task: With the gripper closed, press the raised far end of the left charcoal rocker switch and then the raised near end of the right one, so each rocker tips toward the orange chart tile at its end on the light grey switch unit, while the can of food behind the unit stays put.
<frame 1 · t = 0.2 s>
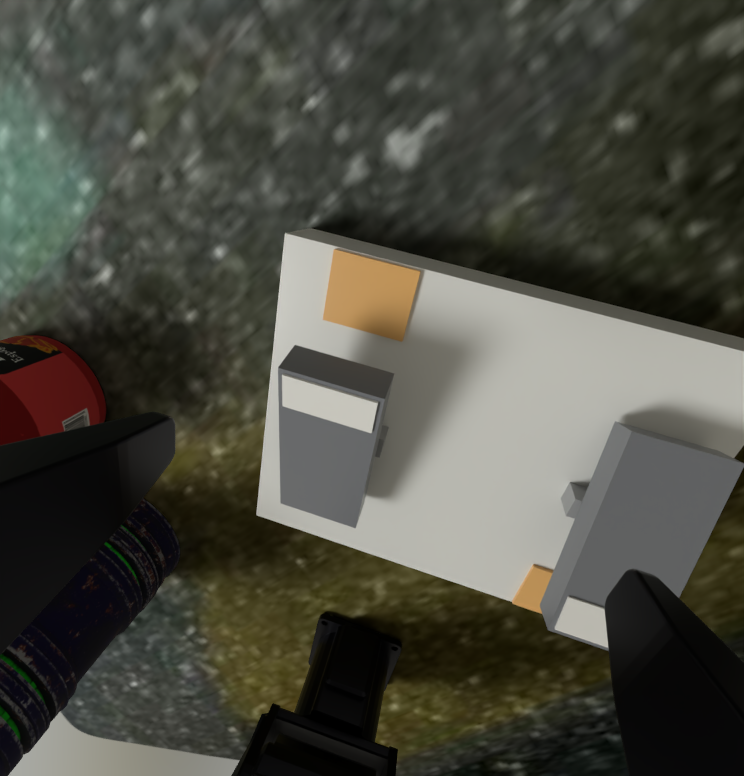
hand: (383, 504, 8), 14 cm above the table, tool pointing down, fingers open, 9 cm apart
storage jar: (127, 530, 33), on the table
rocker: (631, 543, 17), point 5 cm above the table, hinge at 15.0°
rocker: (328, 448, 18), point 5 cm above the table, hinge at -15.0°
canned food: (62, 387, 28), on the table
switch base: (464, 427, 22), on the table
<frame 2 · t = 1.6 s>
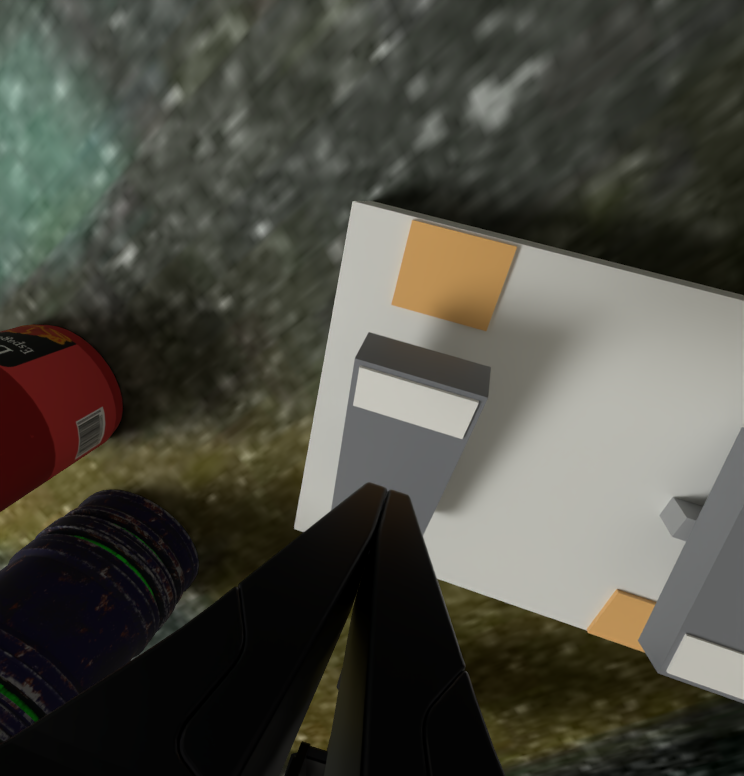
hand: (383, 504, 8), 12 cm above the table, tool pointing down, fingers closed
storage jar: (140, 541, 30), on the table
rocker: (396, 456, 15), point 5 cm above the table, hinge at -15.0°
canned food: (74, 383, 25), on the table
switch base: (536, 432, 19), on the table
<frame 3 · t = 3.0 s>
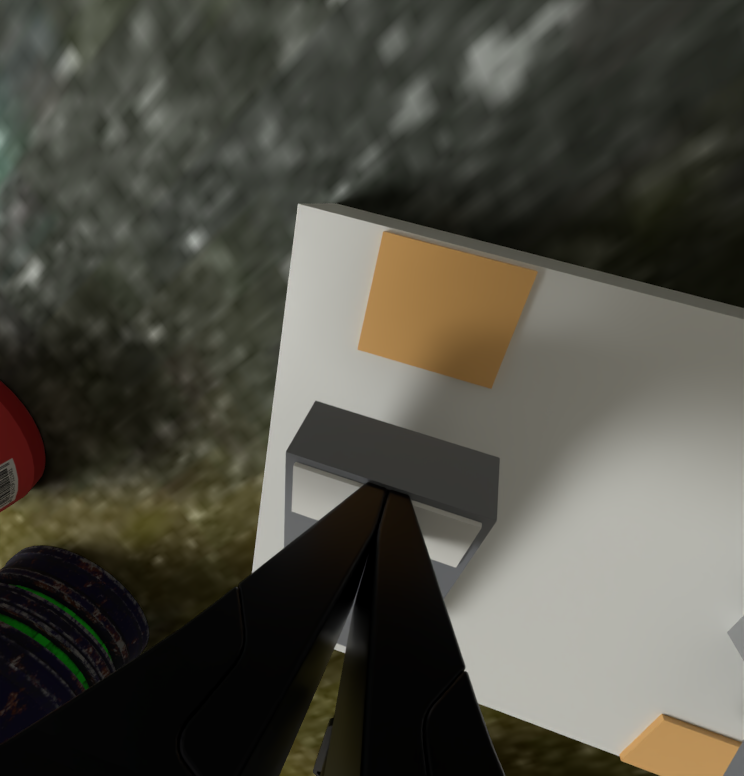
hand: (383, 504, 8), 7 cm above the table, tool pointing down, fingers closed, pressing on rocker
storage jar: (82, 602, 26), on the table
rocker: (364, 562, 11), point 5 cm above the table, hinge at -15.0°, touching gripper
switch base: (554, 502, 15), on the table
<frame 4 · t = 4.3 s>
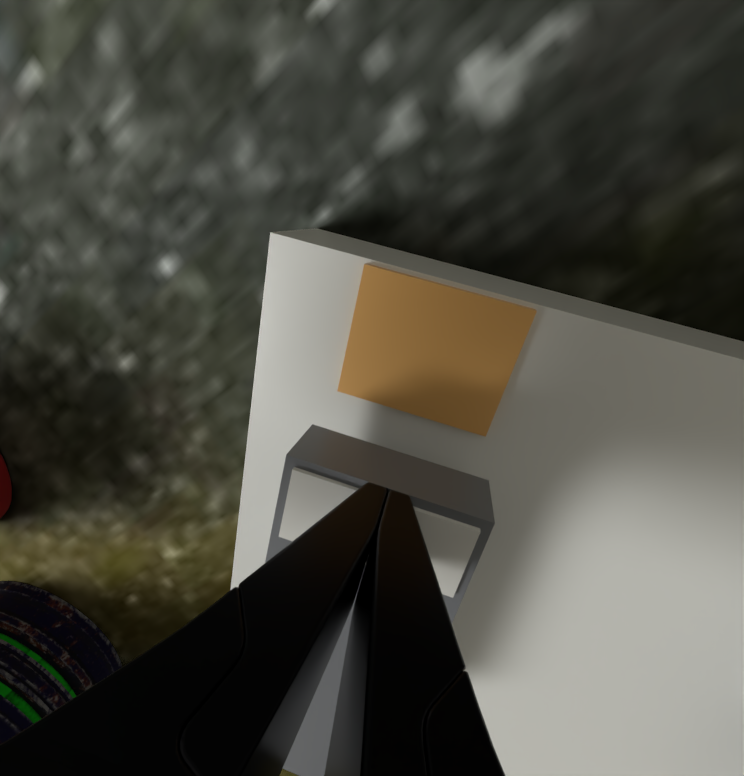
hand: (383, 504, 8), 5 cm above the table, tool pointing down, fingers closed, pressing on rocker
storage jar: (53, 640, 24), on the table
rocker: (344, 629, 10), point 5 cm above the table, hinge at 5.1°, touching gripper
switch base: (554, 547, 14), on the table
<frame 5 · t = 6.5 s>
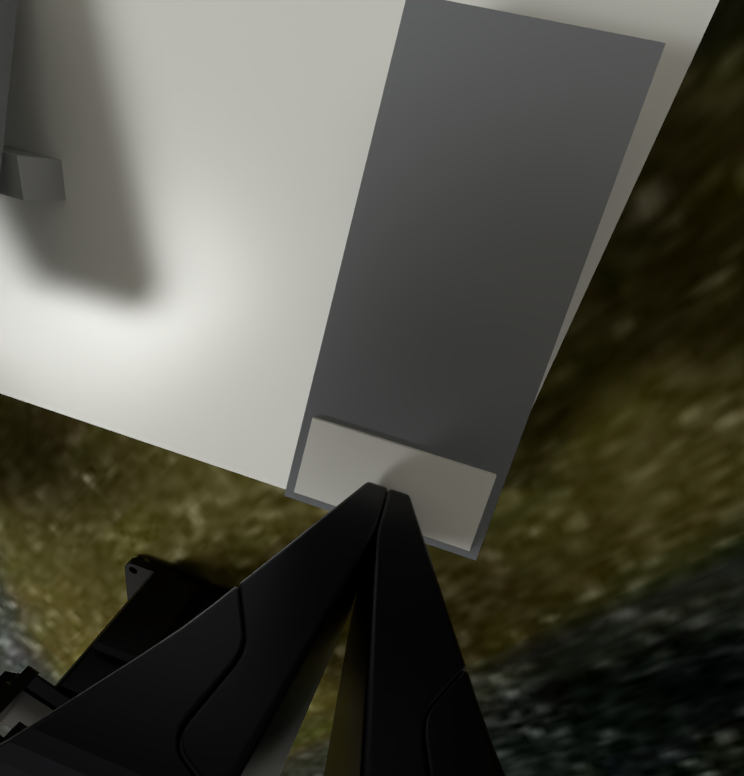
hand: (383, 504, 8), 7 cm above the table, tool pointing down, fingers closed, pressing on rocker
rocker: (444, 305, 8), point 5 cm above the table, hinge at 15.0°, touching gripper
switch base: (246, 211, 13), on the table
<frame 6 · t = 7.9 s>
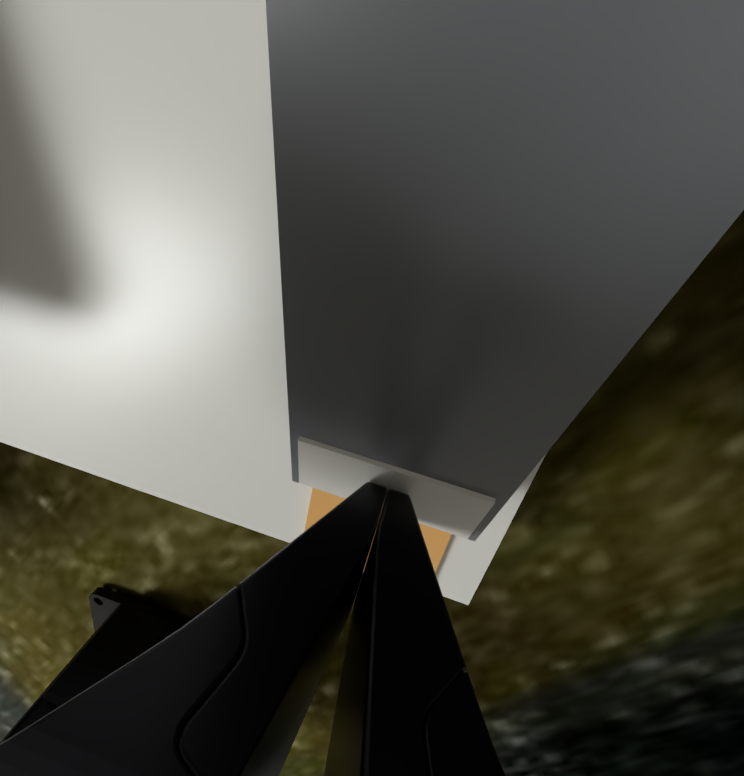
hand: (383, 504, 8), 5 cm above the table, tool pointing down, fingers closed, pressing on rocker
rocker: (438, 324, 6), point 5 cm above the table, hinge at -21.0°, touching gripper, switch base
switch base: (203, 198, 11), on the table
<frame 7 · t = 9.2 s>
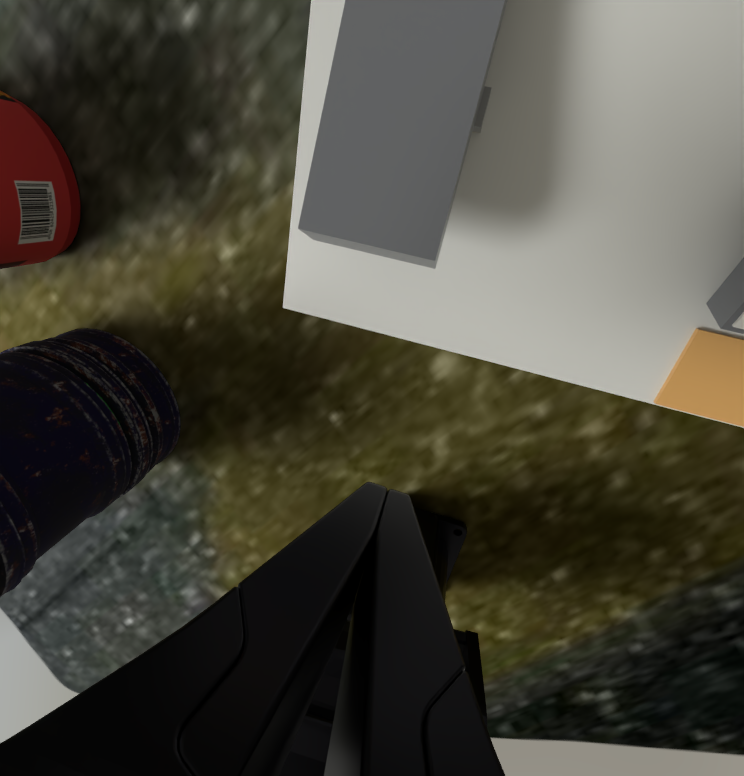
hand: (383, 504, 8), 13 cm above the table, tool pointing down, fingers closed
storage jar: (114, 400, 26), on the table
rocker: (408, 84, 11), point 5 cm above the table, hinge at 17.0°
canned food: (24, 181, 21), on the table
switch base: (583, 148, 15), on the table
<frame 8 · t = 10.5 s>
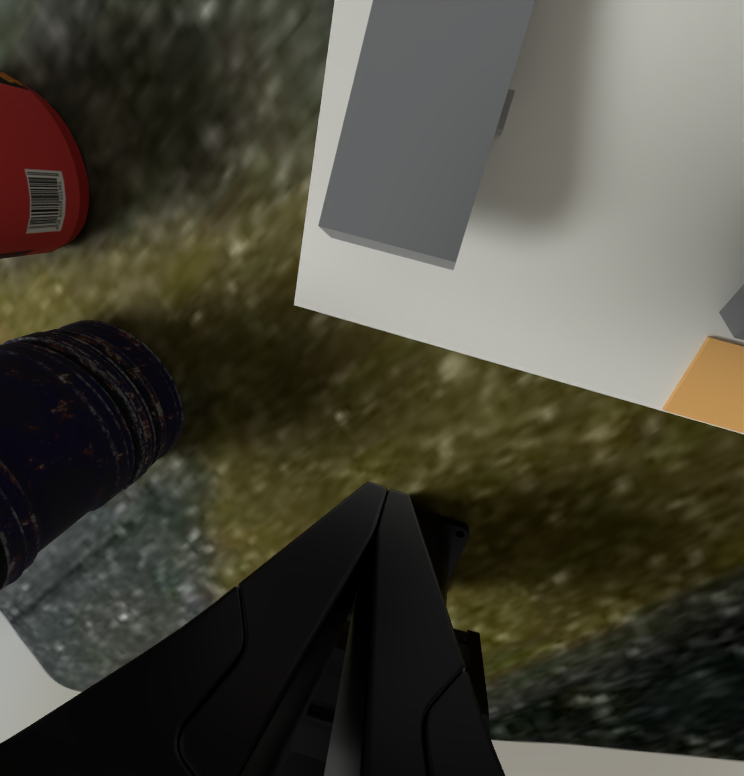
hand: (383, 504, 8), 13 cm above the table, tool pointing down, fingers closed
storage jar: (116, 394, 26), on the table
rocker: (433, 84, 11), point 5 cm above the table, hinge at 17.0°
canned food: (32, 169, 21), on the table
switch base: (599, 154, 15), on the table
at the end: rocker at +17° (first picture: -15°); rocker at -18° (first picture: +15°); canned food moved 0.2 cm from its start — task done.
